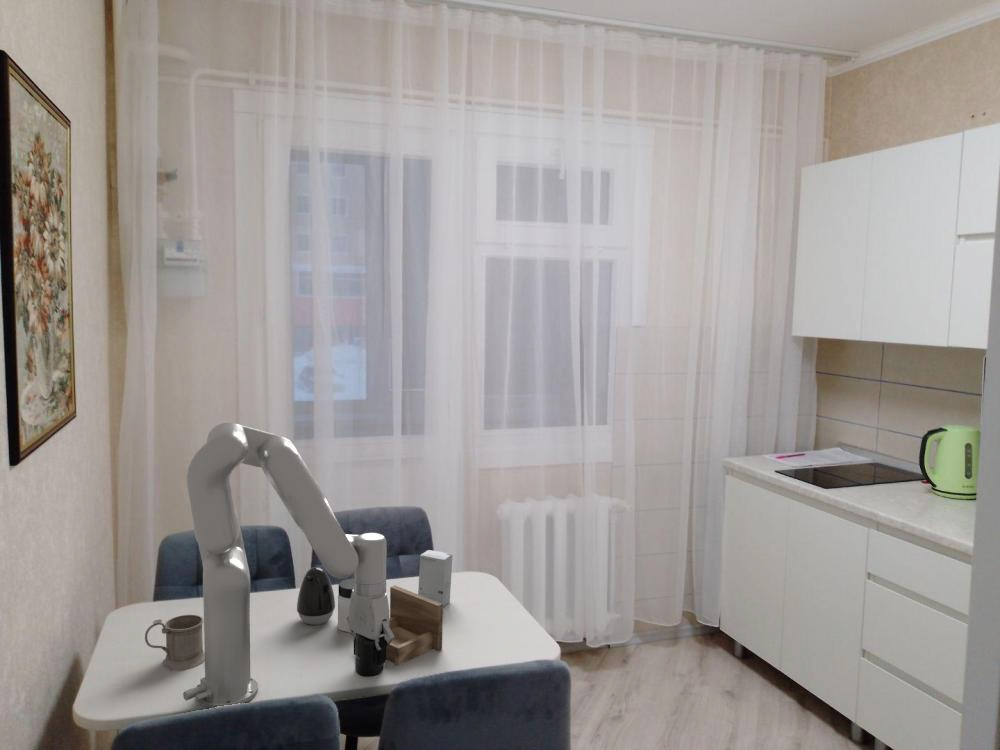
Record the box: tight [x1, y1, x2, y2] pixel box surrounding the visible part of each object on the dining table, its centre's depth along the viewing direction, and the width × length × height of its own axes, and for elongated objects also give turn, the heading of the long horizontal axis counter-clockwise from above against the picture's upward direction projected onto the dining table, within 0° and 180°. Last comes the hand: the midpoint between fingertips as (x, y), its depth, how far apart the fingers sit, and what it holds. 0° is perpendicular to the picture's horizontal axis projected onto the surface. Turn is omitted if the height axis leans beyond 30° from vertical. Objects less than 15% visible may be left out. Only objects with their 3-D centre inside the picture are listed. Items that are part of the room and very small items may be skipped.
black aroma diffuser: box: [296, 566, 336, 626], centre depth 204 cm, size 10×10×15 cm
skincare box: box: [417, 549, 454, 608], centre depth 218 cm, size 8×6×15 cm
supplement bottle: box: [354, 633, 385, 678], centre depth 178 cm, size 7×7×12 cm
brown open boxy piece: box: [386, 584, 444, 667], centre depth 190 cm, size 13×18×12 cm
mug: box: [144, 614, 205, 671], centre depth 179 cm, size 14×10×12 cm
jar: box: [337, 577, 354, 634], centre depth 202 cm, size 9×8×12 cm
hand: (369, 657), depth 178 cm, fingers closed on supplement bottle, 6 cm apart
